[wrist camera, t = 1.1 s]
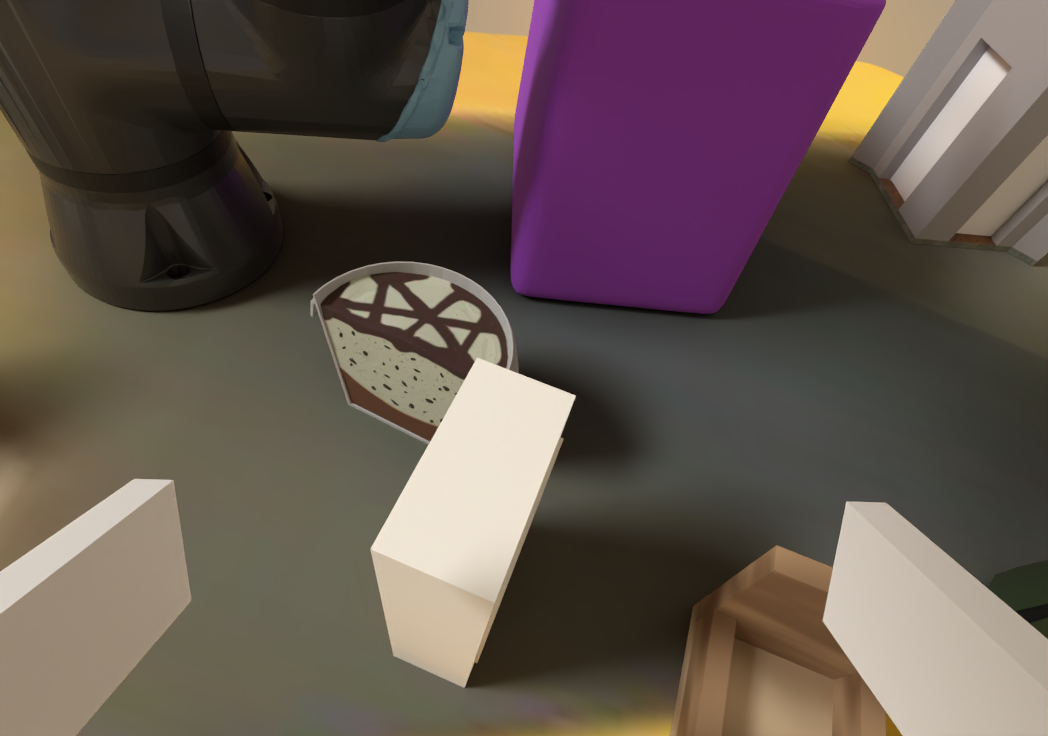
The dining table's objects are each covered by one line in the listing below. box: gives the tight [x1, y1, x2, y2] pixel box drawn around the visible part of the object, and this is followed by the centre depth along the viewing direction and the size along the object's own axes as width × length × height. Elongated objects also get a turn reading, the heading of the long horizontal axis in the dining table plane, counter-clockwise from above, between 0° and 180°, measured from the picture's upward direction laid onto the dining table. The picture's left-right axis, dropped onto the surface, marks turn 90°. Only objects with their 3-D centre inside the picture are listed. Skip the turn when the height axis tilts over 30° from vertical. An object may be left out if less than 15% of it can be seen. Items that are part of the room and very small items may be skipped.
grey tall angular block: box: [849, 0, 1048, 266], centre depth 50 cm, size 21×10×28 cm, turn 44°
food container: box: [310, 261, 519, 445], centre depth 35 cm, size 12×6×10 cm, turn 65°
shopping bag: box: [510, 0, 886, 314], centre depth 43 cm, size 28×22×30 cm
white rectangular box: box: [371, 358, 576, 688], centre depth 26 cm, size 8×4×16 cm, turn 159°
